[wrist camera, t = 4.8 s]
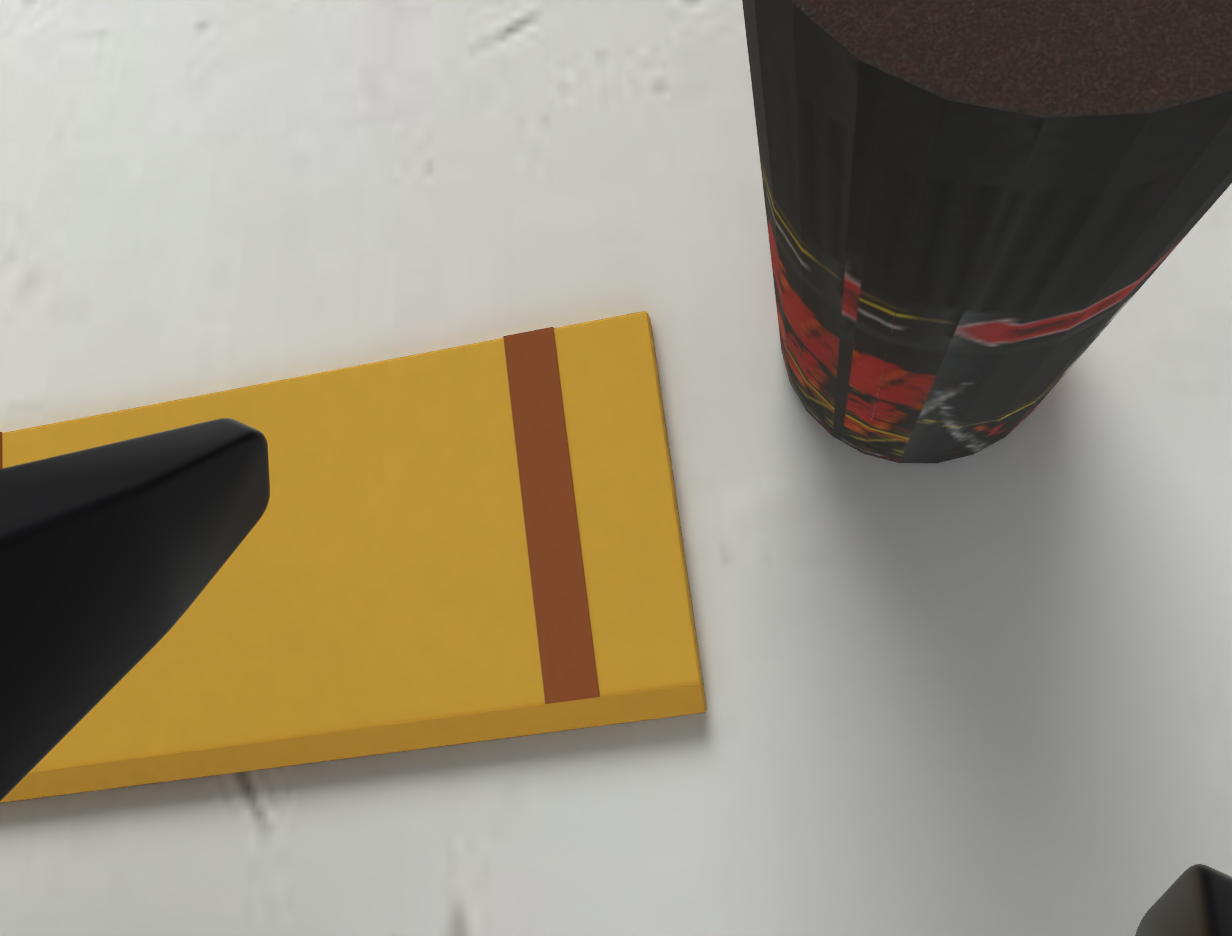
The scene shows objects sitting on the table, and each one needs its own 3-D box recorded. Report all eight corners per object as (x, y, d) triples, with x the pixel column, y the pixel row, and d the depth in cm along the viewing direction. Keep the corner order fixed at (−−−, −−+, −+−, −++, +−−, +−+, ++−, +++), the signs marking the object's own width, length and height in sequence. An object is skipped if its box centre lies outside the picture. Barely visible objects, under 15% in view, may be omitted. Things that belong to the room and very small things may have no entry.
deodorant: (801, 194, 24) (779, -498, 10) (1074, 217, 23) (1515, -536, 8) (762, 444, 23) (674, 93, 9) (1043, 482, 22) (1476, 147, 8)
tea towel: (707, 711, 23) (704, 712, 22) (-102, 815, 26) (-122, 818, 25) (650, 316, 24) (646, 308, 24) (-99, 458, 28) (-117, 453, 27)
